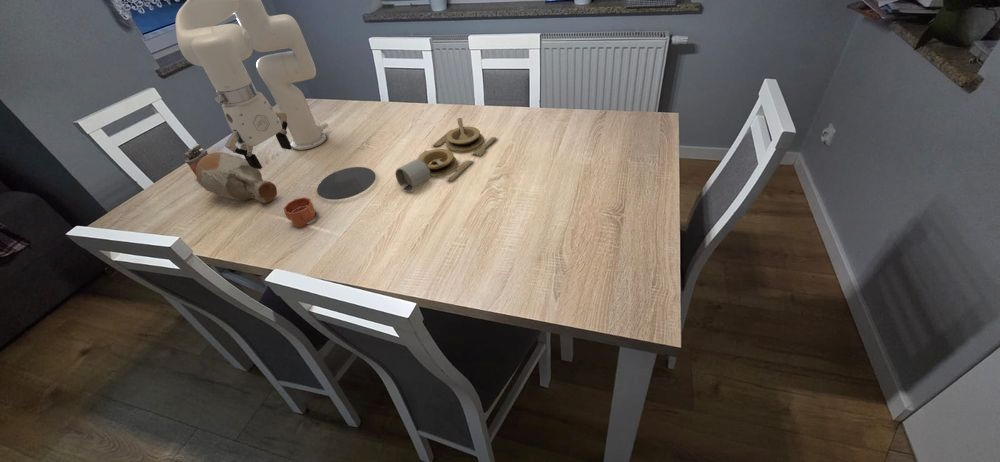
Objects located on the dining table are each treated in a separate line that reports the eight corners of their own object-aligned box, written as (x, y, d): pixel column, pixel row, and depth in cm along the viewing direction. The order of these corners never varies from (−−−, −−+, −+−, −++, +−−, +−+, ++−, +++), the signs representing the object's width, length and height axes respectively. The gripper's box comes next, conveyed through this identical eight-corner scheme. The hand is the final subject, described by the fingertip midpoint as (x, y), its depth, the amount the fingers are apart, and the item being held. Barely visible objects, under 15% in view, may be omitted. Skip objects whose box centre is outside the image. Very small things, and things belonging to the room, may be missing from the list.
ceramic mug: (434, 181, 122) (429, 159, 117) (415, 195, 117) (409, 172, 112) (410, 172, 127) (404, 151, 122) (391, 185, 123) (384, 163, 118)
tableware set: (452, 130, 147) (449, 115, 143) (498, 139, 139) (497, 123, 135) (401, 172, 128) (396, 155, 124) (452, 184, 120) (448, 167, 116)
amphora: (211, 141, 129) (255, 143, 112) (248, 179, 139) (294, 185, 122) (173, 169, 122) (214, 175, 105) (216, 206, 132) (259, 217, 115)
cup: (305, 210, 117) (297, 195, 113) (324, 215, 114) (317, 200, 110) (286, 225, 112) (277, 210, 109) (305, 230, 109) (297, 216, 106)
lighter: (203, 180, 135) (186, 155, 129) (195, 180, 136) (177, 154, 130) (220, 168, 141) (204, 142, 135) (212, 167, 142) (196, 142, 136)
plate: (345, 166, 134) (344, 163, 133) (388, 175, 127) (387, 171, 127) (305, 196, 122) (304, 193, 121) (350, 207, 116) (349, 204, 115)
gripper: (215, 111, 84) (255, 178, 96) (279, 80, 96) (307, 143, 107) (193, 107, 87) (234, 173, 98) (257, 77, 99) (288, 140, 110)
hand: (272, 157), depth 103 cm, fingers open, 9 cm apart
